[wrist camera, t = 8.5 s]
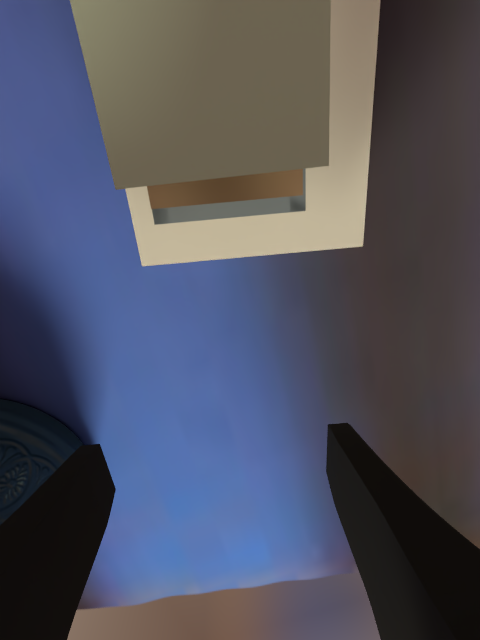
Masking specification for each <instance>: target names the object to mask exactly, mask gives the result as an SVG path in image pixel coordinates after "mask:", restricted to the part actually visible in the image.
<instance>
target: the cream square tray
mask: <svg viewBox="0 0 480 640" xmlns="http://www.w3.org/2000/svg"><path fill="white" fill-rule="evenodd" d="M379 14H380V0H331V23H330V116H329V166H323V167H314V168H305V169H303V195H300V196H289V197H278V198H267V199H257V200H246V201H235V202H224V203H213V204H202V205H191V206H181V207H170V208H159V209H151V206H150V201H149V195H148V190H147V186H144V187H135V188H126V193H127V198H128V203H129V207H130V212H131V217H132V221H133V226H134V231H135V235H136V240H137V245H138V249H139V254H140V259H141V263H142V266H151V265H162V264H173V263H184V262H195V261H206V260H217V259H228V258H239V257H250V256H261V255H272V254H283V253H294V252H305V251H316V250H327V249H338V248H349V247H360V246H363V237H364V223H365V209H366V195H367V181H368V167H369V153H370V139H371V125H372V111H373V97H374V83H375V69H376V55H377V41H378V27H379Z"/></svg>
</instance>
